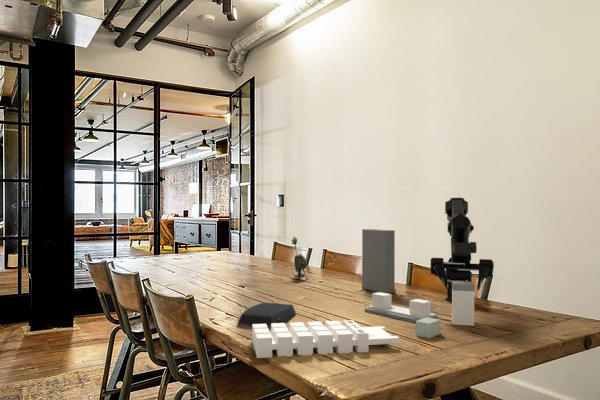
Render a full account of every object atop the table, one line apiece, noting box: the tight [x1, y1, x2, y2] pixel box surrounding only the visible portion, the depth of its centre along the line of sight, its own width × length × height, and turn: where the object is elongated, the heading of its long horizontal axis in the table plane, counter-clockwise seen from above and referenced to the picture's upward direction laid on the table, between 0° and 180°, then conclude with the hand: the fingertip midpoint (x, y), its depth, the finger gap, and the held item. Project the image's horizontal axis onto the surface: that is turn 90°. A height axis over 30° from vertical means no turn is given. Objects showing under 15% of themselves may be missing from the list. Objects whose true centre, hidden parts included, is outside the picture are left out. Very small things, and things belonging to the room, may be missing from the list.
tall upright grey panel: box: [361, 228, 397, 294], centre depth 195 cm, size 14×6×25 cm, turn 34°
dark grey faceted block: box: [236, 301, 297, 330], centre depth 145 cm, size 13×19×4 cm
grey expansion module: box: [451, 280, 475, 327], centre depth 142 cm, size 5×6×12 cm
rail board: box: [364, 292, 439, 324], centre depth 152 cm, size 10×21×6 cm, turn 41°
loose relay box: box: [415, 317, 441, 339], centre depth 129 cm, size 6×4×4 cm, turn 136°
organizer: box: [251, 319, 400, 359], centre depth 118 cm, size 13×5×35 cm
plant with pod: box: [289, 236, 309, 280], centre depth 225 cm, size 8×11×20 cm
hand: (462, 288), depth 144 cm, fingers open, 9 cm apart
